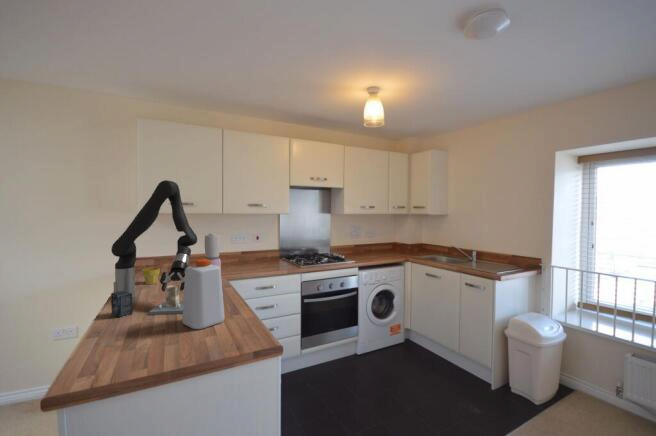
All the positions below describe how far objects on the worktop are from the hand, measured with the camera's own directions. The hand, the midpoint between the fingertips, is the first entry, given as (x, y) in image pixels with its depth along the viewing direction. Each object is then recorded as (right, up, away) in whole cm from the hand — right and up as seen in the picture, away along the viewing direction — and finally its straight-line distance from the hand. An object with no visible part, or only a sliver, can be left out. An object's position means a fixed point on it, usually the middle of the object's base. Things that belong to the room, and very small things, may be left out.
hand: (172, 290), depth 152 cm
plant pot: (-42, -8, +54) cm, 69 cm away
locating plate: (0, -10, +1) cm, 9 cm away
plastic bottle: (+23, -10, -18) cm, 31 cm away
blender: (-11, -7, +83) cm, 84 cm away
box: (-20, -10, -8) cm, 24 cm away
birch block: (0, -8, +1) cm, 8 cm away
